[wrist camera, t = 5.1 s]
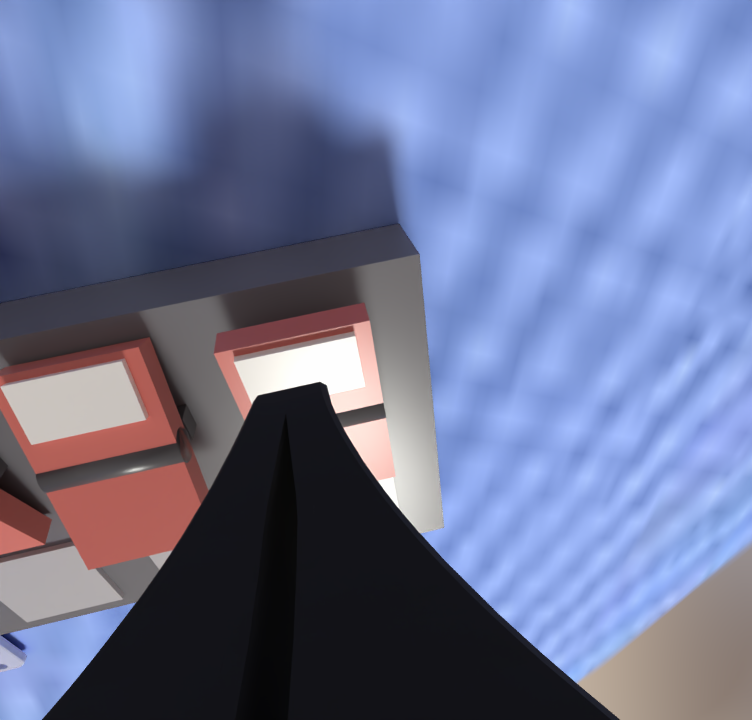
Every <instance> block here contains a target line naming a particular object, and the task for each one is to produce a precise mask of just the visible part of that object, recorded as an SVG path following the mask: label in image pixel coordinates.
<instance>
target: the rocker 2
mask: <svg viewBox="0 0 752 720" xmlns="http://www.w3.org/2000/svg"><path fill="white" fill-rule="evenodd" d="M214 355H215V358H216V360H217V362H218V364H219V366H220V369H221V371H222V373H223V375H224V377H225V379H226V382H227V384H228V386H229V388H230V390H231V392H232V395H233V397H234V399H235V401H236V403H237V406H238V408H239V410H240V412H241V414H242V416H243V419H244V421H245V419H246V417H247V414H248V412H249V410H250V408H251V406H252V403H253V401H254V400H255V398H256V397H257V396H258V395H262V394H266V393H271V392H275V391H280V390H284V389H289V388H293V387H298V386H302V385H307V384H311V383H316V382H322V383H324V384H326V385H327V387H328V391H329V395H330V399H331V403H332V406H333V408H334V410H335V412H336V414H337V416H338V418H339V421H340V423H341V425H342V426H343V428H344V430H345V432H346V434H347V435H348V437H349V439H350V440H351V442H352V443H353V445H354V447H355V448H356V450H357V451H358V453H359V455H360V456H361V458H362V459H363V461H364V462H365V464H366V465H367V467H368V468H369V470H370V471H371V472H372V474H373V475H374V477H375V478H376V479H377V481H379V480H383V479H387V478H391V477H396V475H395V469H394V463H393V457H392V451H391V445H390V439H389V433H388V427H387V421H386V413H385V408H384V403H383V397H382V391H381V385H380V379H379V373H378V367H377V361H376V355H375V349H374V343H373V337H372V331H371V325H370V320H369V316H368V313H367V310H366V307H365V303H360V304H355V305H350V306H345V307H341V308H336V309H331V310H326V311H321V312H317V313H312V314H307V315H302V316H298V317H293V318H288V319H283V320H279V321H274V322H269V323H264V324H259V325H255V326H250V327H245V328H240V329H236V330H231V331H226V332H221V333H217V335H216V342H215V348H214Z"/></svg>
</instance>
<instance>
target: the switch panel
mask: <svg viewBox="0 0 752 720" xmlns="http://www.w3.org/2000/svg"><path fill="white" fill-rule="evenodd" d="M360 303H365V307H366V310H367V313H368V316H369V320H370V325H371V331H372V337H373V343H374V349H375V355H376V361H377V367H378V373H379V379H380V385H381V391H382V397H383V403H384V408H385V413H386V421H387V427H388V433H389V439H390V445H391V451H392V457H393V463H394V469H395V475H396V477H391V478H387V479H383V480H379V481H378V482H379V483H380V485H381V486H382V487H383V489H384V490H385V492H386V493H387V494H388V495H389V497H390V498H391V499H392V501H393V502H394V503H395V504H396V506H397V507H398V508H399V509H400V510H401V512H402V513H403V514H404V515H405V516H406V518H407V519H408V520H409V521H410V522H411V524H412V525H413V526H414V527H415V528H416V529H417V531H418V532H419V533H424V532H428V531H433V530H437V529H441V528H444V522H443V511H442V500H441V488H440V477H439V466H438V455H437V444H436V433H435V422H434V410H433V399H432V388H431V377H430V366H429V355H428V344H427V332H426V321H425V310H424V299H423V288H422V277H421V266H420V254H419V253H418V251H417V250H416V248H415V247H414V245H413V244H412V242H411V241H410V239H409V238H408V236H407V235H406V233H405V232H404V230H403V229H402V227H401V226H400V224H394V225H389V226H384V227H379V228H374V229H369V230H364V231H359V232H354V233H349V234H344V235H339V236H334V237H329V238H324V239H319V240H314V241H309V242H304V243H299V244H294V245H289V246H284V247H279V248H274V249H269V250H264V251H259V252H254V253H249V254H244V255H239V256H234V257H229V258H224V259H219V260H214V261H209V262H204V263H199V264H194V265H189V266H184V267H179V268H174V269H169V270H164V271H159V272H154V273H149V274H144V275H139V276H134V277H129V278H124V279H119V280H114V281H109V282H104V283H99V284H94V285H89V286H84V287H79V288H74V289H69V290H64V291H59V292H54V293H49V294H44V295H39V296H34V297H29V298H24V299H19V300H14V301H9V302H4V303H0V370H1V369H3V368H5V367H8V366H13V365H18V364H23V363H28V362H32V361H37V360H42V359H47V358H52V357H56V356H61V355H66V354H71V353H76V352H80V351H85V350H90V349H95V348H100V347H104V346H109V345H114V344H119V343H124V342H128V341H133V340H138V339H143V338H148V337H150V340H151V342H152V345H153V347H154V350H155V353H156V355H157V358H158V360H159V363H160V366H161V368H162V371H163V373H164V376H165V379H166V381H167V384H168V386H169V389H170V392H171V394H172V397H173V399H174V402H175V405H176V407H177V410H178V412H179V415H180V418H181V420H182V423H183V425H184V428H185V429H186V430H187V432H188V434H189V437H190V441H191V446H192V449H193V451H194V454H195V457H196V459H197V462H198V464H199V467H200V470H201V472H202V475H203V477H204V480H205V483H206V485H207V488H208V490H210V488H211V486H212V484H213V482H214V480H215V478H216V477H217V475H218V473H219V471H220V469H221V467H222V465H223V463H224V461H225V460H226V458H227V456H228V454H229V452H230V450H231V448H232V446H233V444H234V442H235V440H236V438H237V436H238V434H239V432H240V430H241V427H242V425H243V423H244V419H243V416H242V414H241V412H240V410H239V408H238V406H237V403H236V401H235V399H234V397H233V395H232V392H231V390H230V388H229V386H228V384H227V382H226V379H225V377H224V375H223V373H222V371H221V369H220V366H219V364H218V362H217V360H216V358H215V355H214V348H215V342H216V335H217V333H221V332H226V331H231V330H236V329H240V328H245V327H250V326H255V325H259V324H264V323H269V322H274V321H279V320H283V319H288V318H293V317H298V316H302V315H307V314H312V313H317V312H321V311H326V310H331V309H336V308H341V307H345V306H350V305H355V304H360ZM0 489H2V490H3V491H5V492H7V493H8V494H10V495H12V496H13V497H15V498H17V499H18V500H20V501H22V502H23V503H25V504H27V505H29V506H30V507H32V508H34V509H35V510H37V511H39V512H40V513H42V514H44V515H45V516H47V517H49V518H50V519H52V521H51V525H50V528H49V532H48V536H47V539H46V543H45V545H41V546H36V547H32V548H28V549H23V550H19V551H15V552H10V553H6V554H2V555H0V635H3V634H7V633H11V632H15V631H19V630H23V629H28V628H32V627H36V626H40V625H44V624H48V623H52V622H57V621H61V620H65V619H69V618H73V617H77V616H81V615H85V614H90V613H94V612H98V611H102V610H106V609H110V608H114V607H119V606H123V605H127V604H131V603H135V602H137V601H138V600H139V598H140V597H141V595H142V594H143V593H144V591H145V590H146V588H147V587H148V585H149V584H150V583H151V581H152V580H153V578H154V577H155V576H156V574H157V573H158V571H159V570H160V568H161V567H162V565H163V564H164V562H165V561H166V559H167V558H168V556H169V555H170V553H171V552H172V551H167V552H163V553H159V554H155V555H150V556H146V557H142V558H138V559H133V560H129V561H125V562H121V563H117V564H112V565H108V566H104V567H100V568H95V569H91V570H88V569H87V567H86V565H85V563H84V561H83V560H82V558H81V556H80V554H79V552H78V550H77V549H76V547H75V545H74V543H73V541H72V539H71V538H70V536H69V534H68V532H67V530H66V528H65V527H64V525H63V523H62V521H61V519H60V518H59V516H58V514H57V512H56V510H55V508H54V507H53V505H52V503H51V501H50V499H49V497H48V496H47V494H46V493H45V492H43V491H42V490H41V489H40V487H39V485H38V483H37V480H36V474H35V472H34V470H33V468H32V466H31V465H30V463H29V461H28V459H27V457H26V455H25V454H24V452H23V450H22V448H21V446H20V444H19V443H18V441H17V439H16V437H15V435H14V433H13V432H12V430H11V428H10V426H9V424H8V422H7V421H6V419H5V417H4V415H3V413H2V411H1V410H0Z"/></svg>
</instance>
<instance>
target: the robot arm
mask: <svg viewBox="0 0 752 720" xmlns="http://www.w3.org/2000/svg"><path fill="white" fill-rule="evenodd" d="M26 658H27V655H26V654H25V653H24V652H23V651H21V650H20V649H19V648H17V647H16V646H15V645H13V644H12V643H10V642H9V641H8V640H6V639H5V638H4V637H2V636H1V635H0V672H3V671H7V670H11V669H15V668H19V667H21V666H22V665H24V663H25V660H26ZM42 720H619V719H618V718H617V717H616V716H615V715H614V714H612V713H611V712H610V711H609V710H608V709H607V708H605V707H604V706H603V705H602V704H601V703H599V702H598V701H597V700H596V699H595V698H593V697H592V696H591V695H590V694H589V693H587V692H586V691H585V690H584V689H583V688H581V687H580V686H579V685H578V684H577V683H576V682H574V681H573V680H572V679H571V678H570V677H569V676H567V675H566V674H565V673H564V672H563V671H562V670H560V669H559V668H558V667H557V666H556V665H555V664H554V663H552V662H551V661H550V660H549V659H548V658H547V657H545V656H544V655H543V654H542V653H541V652H540V651H539V650H538V649H536V648H535V647H534V646H533V645H532V644H531V643H530V642H529V641H528V640H527V639H525V638H524V637H523V636H522V635H521V634H520V633H519V632H518V631H517V630H516V629H514V628H513V627H512V626H511V625H510V624H509V623H508V622H507V621H506V620H505V619H504V618H502V617H501V616H500V615H499V614H498V613H497V612H496V611H495V610H494V609H493V608H492V607H491V606H490V605H489V604H488V603H487V602H486V601H485V600H484V599H483V598H482V597H481V596H480V595H479V594H478V593H477V592H476V591H475V590H474V589H473V588H472V587H471V586H470V585H469V584H468V583H467V582H466V581H465V580H464V579H463V578H462V577H461V576H460V575H459V574H458V573H457V572H456V571H455V570H454V569H453V568H452V567H451V566H450V565H449V564H448V563H447V562H446V561H445V560H444V559H443V558H442V557H441V556H440V555H439V554H438V553H437V552H436V550H435V549H434V548H433V547H432V546H431V545H430V544H429V543H428V542H427V541H426V540H425V538H424V537H423V536H422V535H421V534H420V533H419V532H418V531H417V529H416V528H415V527H414V526H413V525H412V524H411V522H410V521H409V520H408V519H407V518H406V516H405V515H404V514H403V513H402V512H401V510H400V509H399V508H398V507H397V506H396V504H395V503H394V502H393V501H392V499H391V498H390V497H389V495H388V494H387V493H386V492H385V490H384V489H383V487H382V486H381V485H380V483H379V482H378V481H377V479H376V478H375V477H374V475H373V474H372V472H371V471H370V470H369V468H368V467H367V465H366V464H365V462H364V461H363V459H362V458H361V456H360V455H359V453H358V451H357V450H356V448H355V447H354V445H353V443H352V442H351V440H350V439H349V437H348V435H347V434H346V432H345V430H344V428H343V426H342V425H341V423H340V421H339V418H338V416H337V414H336V412H335V410H334V408H333V406H332V403H331V399H330V395H329V391H328V387H327V385H326V384H324V383H322V382H316V383H311V384H307V385H302V386H298V387H293V388H289V389H284V390H280V391H275V392H271V393H266V394H262V395H258V396H257V397H256V398H255V400H254V401H253V403H252V406H251V408H250V410H249V412H248V414H247V417H246V419H245V421H244V423H243V425H242V427H241V430H240V432H239V434H238V436H237V438H236V440H235V442H234V444H233V446H232V448H231V450H230V452H229V454H228V456H227V458H226V460H225V461H224V463H223V465H222V467H221V469H220V471H219V473H218V475H217V477H216V478H215V480H214V482H213V484H212V486H211V488H210V490H209V491H208V493H207V495H206V496H205V498H204V500H203V501H202V503H201V505H200V507H199V508H198V510H197V512H196V513H195V515H194V517H193V518H192V520H191V522H190V523H189V525H188V527H187V528H186V530H185V532H184V533H183V535H182V536H181V538H180V540H179V541H178V543H177V544H176V546H175V547H174V549H173V550H172V552H171V553H170V555H169V556H168V558H167V559H166V561H165V562H164V564H163V565H162V567H161V568H160V570H159V571H158V573H157V574H156V576H155V577H154V578H153V580H152V581H151V583H150V584H149V585H148V587H147V588H146V590H145V591H144V593H143V594H142V595H141V597H140V598H139V600H138V601H137V602H136V604H135V605H134V606H133V608H132V609H131V610H130V612H129V613H128V614H127V615H126V617H125V618H124V619H123V621H122V622H121V623H120V625H119V626H118V627H117V629H116V630H115V631H114V633H113V634H112V635H111V636H110V638H109V639H108V640H107V642H106V643H105V644H104V646H103V647H102V648H101V649H100V651H99V652H98V653H97V655H96V656H95V657H94V658H93V660H92V661H91V662H90V663H89V665H88V666H87V667H86V668H85V670H84V671H83V672H82V673H81V675H80V676H79V677H78V678H77V679H76V681H75V682H74V683H73V684H72V686H71V687H70V688H69V689H68V690H67V691H66V693H65V694H64V695H63V696H62V697H61V698H60V699H59V701H58V702H57V703H56V704H55V705H54V706H53V708H52V709H51V710H50V711H49V712H48V713H47V715H46V716H45V717H44V718H43V719H42Z"/></svg>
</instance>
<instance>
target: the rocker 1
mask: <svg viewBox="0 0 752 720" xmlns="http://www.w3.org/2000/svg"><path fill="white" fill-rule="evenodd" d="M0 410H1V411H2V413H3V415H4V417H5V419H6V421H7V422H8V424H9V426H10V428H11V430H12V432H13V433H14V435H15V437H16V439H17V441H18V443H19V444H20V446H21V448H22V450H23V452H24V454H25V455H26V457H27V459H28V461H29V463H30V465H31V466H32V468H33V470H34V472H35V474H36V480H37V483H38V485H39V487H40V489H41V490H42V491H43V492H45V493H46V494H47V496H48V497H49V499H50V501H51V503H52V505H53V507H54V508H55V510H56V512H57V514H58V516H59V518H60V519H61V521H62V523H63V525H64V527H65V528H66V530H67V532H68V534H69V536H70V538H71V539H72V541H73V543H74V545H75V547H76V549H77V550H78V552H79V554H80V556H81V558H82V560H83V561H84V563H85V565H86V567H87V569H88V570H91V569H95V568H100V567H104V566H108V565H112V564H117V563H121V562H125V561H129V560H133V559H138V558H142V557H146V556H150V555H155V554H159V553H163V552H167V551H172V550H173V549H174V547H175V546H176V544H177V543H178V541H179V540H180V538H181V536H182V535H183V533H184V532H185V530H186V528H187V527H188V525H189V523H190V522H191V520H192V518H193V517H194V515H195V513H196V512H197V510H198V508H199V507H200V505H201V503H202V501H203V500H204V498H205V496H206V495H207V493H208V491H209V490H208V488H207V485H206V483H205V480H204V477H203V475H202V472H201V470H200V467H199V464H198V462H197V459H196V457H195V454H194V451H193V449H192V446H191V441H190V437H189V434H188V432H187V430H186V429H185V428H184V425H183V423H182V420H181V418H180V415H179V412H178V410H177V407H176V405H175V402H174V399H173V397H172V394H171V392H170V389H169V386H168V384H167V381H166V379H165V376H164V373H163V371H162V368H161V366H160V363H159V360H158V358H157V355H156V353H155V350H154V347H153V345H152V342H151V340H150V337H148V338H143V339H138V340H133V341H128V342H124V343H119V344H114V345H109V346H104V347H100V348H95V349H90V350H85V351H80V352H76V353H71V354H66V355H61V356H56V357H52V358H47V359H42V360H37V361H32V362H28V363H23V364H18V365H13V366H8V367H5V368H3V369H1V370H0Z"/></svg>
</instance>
